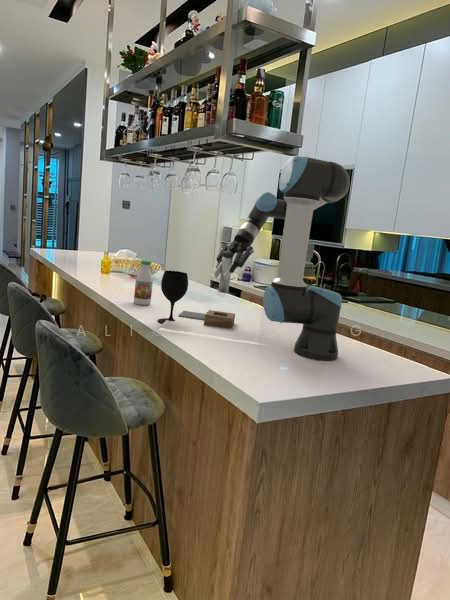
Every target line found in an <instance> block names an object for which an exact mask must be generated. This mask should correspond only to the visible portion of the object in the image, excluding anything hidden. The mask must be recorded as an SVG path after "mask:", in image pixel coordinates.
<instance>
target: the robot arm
mask: <svg viewBox="0 0 450 600" xmlns="http://www.w3.org/2000/svg"><path fill="white" fill-rule="evenodd" d="M350 181H351V180H350V176H349V173H348V171H347V170H346V168H345V167H343V165H341V164H339V163H337V162H335V161H334V162H333V161H327V160H323V159H317V158H313V157H308V156H298V155H294V156H291V157H290V158H289V159H288V160H287V161H286V163H285V164H284V165H283V168H282V170H281V173H280V176H279V180H278V185H279V186H278V189H279V191H280V192H281V193H283V199H277V197H276V195H275V194H273V193H272V192H268V191H265V192H263V193H261V194H260V195H259V196H258V198H257V199H256V201H255V203H254V206H253V207H252V209H251V211H250V213H249V214H248V215H247V218H246V219H245V221H244V222H243V223H242V225H241V227H240V228H239V229H238V231H237V233H236V234H235V236H234V238H233V240H232V241H231V242H230V243H227V242H224V243H223V247H222V248H221V249H220V252H219V254H218V255H217V256H216V262H217V264H216V266H215V270H214V272H213V275H214V278H215V279H218V277H219V276H220V274H221V266H222V258H223V256H222V254H223V251H225V252H233V253H234V255H235V257H234V258H233V259H234V260H232V263H231V264H230V266H229V267H228V269H227V270H226V272H225V273H224V277H225V280H227V279H228V278H229V276H230V275H232V274H233V273H234V272H235V271H236V269H237V268H243V267H244V265H245V263H246V262H247V260H248V259H249V257H250V256H251V255H252V254H253V253H254V248H253V246H252V244H253V243H254V241H255V239H256V238H257V236H258V235H259V233H260V231H261V230H262V229H263V227H264V225H265V224H266V222H267V220H268V219H269V218H274V219H281V220H284V223H283V224H284V226H283V233H282V239H281V248H280V254H279V261H278V267H277V275H276V277H275V278H274V279H272V280H271V285H269V286H267V287H266V288H265V289H264V292H263V297H262V298H263V299H262V304H263V310H264V313H265V316H266V319H268V320H269V321H271V322H277V323H280V324H283V323H285V324H287V323H288V324H299V325H301V324H302V328H301V331H300V333H299V336H298V337H297V340H296V341H295V343H294V346H293V347H294V348H293V351H294V353H296V354H298V355H299V356H302V357H305V358H308V359H312V360H319V361H335V360H338V356H339V348H338V342H337V341H338V340H337V330H338V325H339V319H340V313H341V308H342V301H343V300H342V299H343V297H342V295H341V294H340V293H339V292H335V291H334V290H333V291H332V290H331V289H326V288H323V287H318V286H315V285H310V286H309V287H308V289H307V284H306V283H305V281H304V273H305V267H306V261H307V253H308V246H309V241H310V234H311V227H312V220H313V215H314V214H313V213H314V211H315V210H316V209H318V208H320V207H322V206H324V205H326V204H328V203H329V204H332V203H336V202H338V201H339V200H341V199H342V198H344V197H345V196H346V195H347V193H348V192H349V189H350V183H351V182H350ZM230 277H231V276H230Z"/></svg>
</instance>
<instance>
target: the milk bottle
mask: <svg viewBox="0 0 450 600" xmlns="http://www.w3.org/2000/svg"><path fill="white" fill-rule="evenodd" d="M151 266H152V261H151V260H145V259H143V260H142V259H141V260H140V269H139V271H138V273H137V274H136V278H135V285H134V293H133V294H134V295H133V303H134V304H136V305H141V306H149V305H151V303H152V293H153V284H154V283H153V281H154V277H153V274H152V271H151Z"/></svg>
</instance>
